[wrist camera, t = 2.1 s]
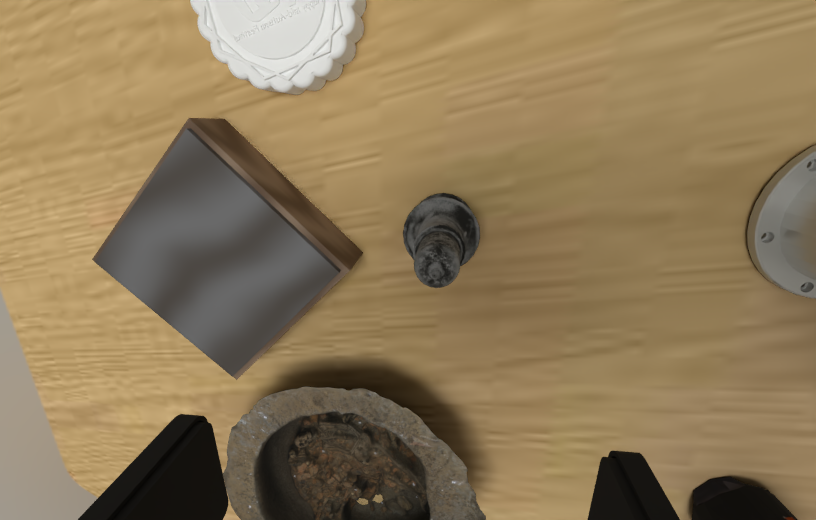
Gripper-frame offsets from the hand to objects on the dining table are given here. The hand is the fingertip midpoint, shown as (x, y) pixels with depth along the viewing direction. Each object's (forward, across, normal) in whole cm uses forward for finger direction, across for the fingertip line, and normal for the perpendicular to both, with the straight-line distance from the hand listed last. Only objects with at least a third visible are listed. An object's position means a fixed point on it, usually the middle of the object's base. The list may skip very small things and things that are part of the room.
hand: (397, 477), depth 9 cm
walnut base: (+25, +18, +3) cm, 31 cm away
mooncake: (+26, +12, -16) cm, 32 cm away
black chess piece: (+25, 0, 0) cm, 25 cm away
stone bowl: (+25, +8, +25) cm, 37 cm away
